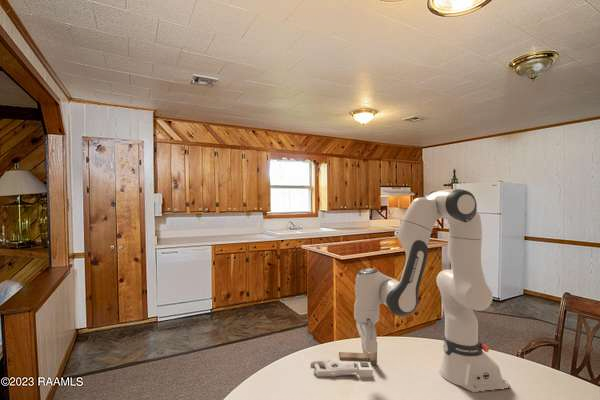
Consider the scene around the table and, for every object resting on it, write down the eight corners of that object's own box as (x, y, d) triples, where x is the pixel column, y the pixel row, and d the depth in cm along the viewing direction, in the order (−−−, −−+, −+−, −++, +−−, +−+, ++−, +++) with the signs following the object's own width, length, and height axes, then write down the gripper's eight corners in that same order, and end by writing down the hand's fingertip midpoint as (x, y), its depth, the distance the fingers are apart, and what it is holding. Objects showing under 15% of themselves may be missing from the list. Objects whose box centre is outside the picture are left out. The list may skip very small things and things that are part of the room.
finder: (369, 370, 114) (369, 361, 114) (372, 377, 109) (372, 368, 109) (356, 369, 114) (356, 361, 114) (359, 377, 109) (359, 368, 109)
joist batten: (371, 355, 124) (371, 353, 124) (373, 360, 120) (373, 358, 120) (338, 354, 125) (338, 352, 125) (339, 359, 121) (339, 357, 121)
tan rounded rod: (376, 362, 119) (376, 340, 119) (377, 366, 116) (378, 343, 116) (369, 362, 119) (370, 340, 119) (371, 365, 116) (371, 343, 116)
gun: (354, 355, 118) (359, 370, 108) (355, 363, 118) (360, 379, 108) (310, 357, 118) (310, 371, 108) (310, 365, 118) (311, 380, 108)
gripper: (382, 326, 94) (380, 369, 94) (369, 304, 115) (368, 339, 115) (362, 325, 95) (361, 368, 95) (353, 303, 115) (352, 338, 115)
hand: (365, 352), depth 105 cm, fingers closed
